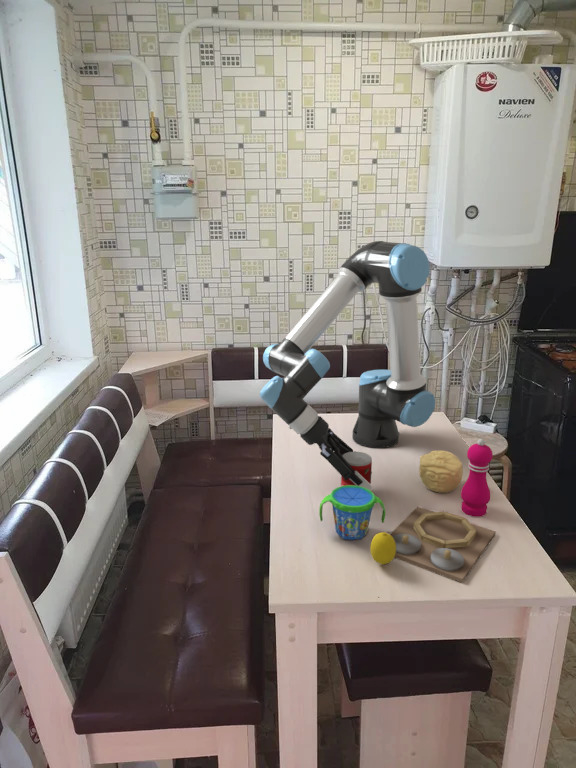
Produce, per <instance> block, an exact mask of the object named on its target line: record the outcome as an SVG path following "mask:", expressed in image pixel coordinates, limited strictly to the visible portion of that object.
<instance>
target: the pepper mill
mask: <svg viewBox="0 0 576 768" xmlns="http://www.w3.org/2000/svg"><path fill="white" fill-rule="evenodd" d="M485 443H486V441H485V440H484V439H483V438H479V439H477V443H473V444H471V446H469V448H468V449H467V452H466V455H467V456H466V457H467V459H468V465H467V468H468V469H469V473H468V477H467V480H466V481H465V483H464V484H463V485H462V487H461V490H460V498H461V500H462V501H461V507H460V509H461V512H463V514H465V515H466V516H470V517H472V518H474V517H475V518H479V517H480V518H481V517H484V516H485V515H486V514H487V511H488V504H489V503H490V501H491V490H490V487H489V484H488V480H487V472H488V471H489V470H490V463H491V462H492V460H493V455H494V454H493V450H492V448H490V446H488V445H487V444H485Z"/></svg>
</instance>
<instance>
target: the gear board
mask: <svg viewBox="0 0 576 768" xmlns="http://www.w3.org/2000/svg"><path fill="white" fill-rule="evenodd" d="M404 518H405V519H403V520H402V522H400V523H399V524H398V525H397V526H396V527H395V529H393V531H391V532H390V533H389V534H390V535H391V536H392V537H393V538H394V541H395V544H396V554H395V557H394V559H398V560H400V561H403V562H406V563H409V564H411V565H413V566H417V567H418V568H421V569H424V570H427V571H430V572H432V573H434V572H435V573H434V574H437V573H438V575H440V574H441V575H440V576H442V575H443V577H445V578H447V579H450V578H451V580H453V579H454V580H453V581H455V580H457V581H456V582H458V581H459V582H458V583H460V584H463V583H464V581H465V580H466V578H467V577H468V575H469V574H470V573H469V572H471V571H472V569H474V567H475V565H476V564H477V563H478V562H479V560H480V558H481V557H480V556H482V555H483V554H484V553H485V551H486V549H487V548H488V546H489V545H490V544H489V543H491V542H492V541H493V539H494V538H495V536H496V533H497V531H495V530H493V529H489V528H486V527H483V526H480V525H477V524H475V523H471V522H470V521H469V520H468V519H467V518H466V517H464V516H459V515H458V514H454V513H451V512H448V511H444V510H442V511H432V510H429V509H427V508H424V507H420V506H416V507H415V508H414V509H413V510H412V511H411V512H410V513H409V515H407V516H406V517H404ZM462 582H463V583H462Z"/></svg>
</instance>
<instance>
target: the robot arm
mask: <svg viewBox="0 0 576 768" xmlns="http://www.w3.org/2000/svg"><path fill="white" fill-rule="evenodd" d="M429 260H430V259H429V258H428V256H427V254H426V252H425V251H424V250H423V249H422V248H421V247H419V246H417V245H412V244H410V243H406V242H405V243H404V242H403V243H401V242H389V241H383V240H377V241H372V242H369V243H367V244H365V245H363V246H361V247H360V248H359V249H357V250H356V251H355V252H353V254H351V255H350V256H349V257H348V258H347V259H346V260H345V262H344V263H343V264H341V265H340V266H339V268H338V269H337V276H336V277H335V278H334V280H333V281H332V282H331V283H330V284H329V286H327V288H326V289H324V291H323V292H322V293H321V295H320V296H319V297H317V300H315V302H314V303H313V304H312V305H311V306H310V307H309V308H308V310H306V312H305V313H304V314H303V316H302V317H301V318H300V319H299V320H298V322H297V323H296V324H295V325H294V326H293V327H292V329H290V331H289V332H288V334H286V336H285V337H283V339H282V340H281V341H280V343H276V344H275V343H274V344H270V345H269V346H268V347H266V349H265V350H264V353H263V355H262V360H263V364H264V365H265V368H268V369H269V370H271V372H273V373H275V374H278V375H276V376H273V377H272V378H271V379H269V381H268V382H266V384H265V385H264V386H263V387H262V389H261V390H260V392H259V397H260V399H261V400H262V401H263V402H264V403H265V404H266V405H267V406H268V408H269V409H270V410H272V411H273V412H274V413H275V414H276V415H277V416H278V417H279V418H280V419H281V420H283V422H284V423H285V424H287V425H288V428H289V429H290V430H293V431H294V432H295V433H296V434H297V435H299V436H300V438H301V439H302V440H303V441H304V442H305V443H306V444H307V445H309V446H312V445H315V444H317V446H318V448H319V450H320V453H319V454H320V456H322V458H324V459H325V460H326V461H328V463H329V465H331V466H332V468H334V470H336V472H337V473H338V474H339V475H340V476H342V477H343V478H344V479H345V480H347V479H350V480H351V481H352V482H353V483H354V484H355V485H356V486H361V487H364V488H367V489H369V490H370V491H372V490H373V488H374V486H373V485H372V483H371V484H370V483H369V482H368V481H367V480H366V479H364V478H363V477H362V476H361V475H360V474H359V473H358V472H357V471H356V470H355V471H354V470H353V468H352V467H351V466H350V465H349V464H348V462H347V461H346V460H345V459H344V457H343V454H345V453H348V452H357V451H356V450H354V449H353V448H352V447H351V446H349V445H348V444H347V443H346V442H345V441H344V440H343V439H341V437H339V436H338V435H337V434H335V432H334V431H333V430H332V428H330V427H329V423H328V422H327V421H326V420H325V419H323V417H322V416H320V415H319V414H318V412H317V411H316V410H315V409H314V408H313V407H311V406H310V404H309V403H307V402H306V401H305V399H304V398H305V397H306V396H307V395H308V394H309V393H310V392H311V390H313V388H314V387H315V386H317V384H318V383H319V382H320V381H322V380H321V379H324V376H325V375H326V373H328V371H329V370H330V367H331V363H330V361H329V360H328V359H327V357H326V356H325V355H324V354H323V353H322V352H320V350H317V349H315V348H312V347H313V346H314V345H315V344H316V342H318V340H319V339H320V338H321V336H322V335H324V333H325V332H326V331H327V329H329V327H330V326H331V325H332V323H334V321H335V320H336V319H337V318H338V316H340V314H341V313H342V312H343V311H344V309H345V308H346V307H347V306H348V304H349V303H350V302H351V301H352V300H353V299H354V298H355V296H356V295H358V293H362V292H364V291H365V290H366V289H367V287H368V286H370V285H372V284H378V293H379V297H381V298H383V300H384V301H385V313H386V314H385V315H386V325H387V327H386V328H387V338H388V339H387V341H388V342H387V343H388V351H389V352H388V354H389V366H390V367H389V368H390V369H372V370H367V371H364V372H363V373H361V375H360V377H359V383H358V386H359V387H358V416H357V418H356V422H355V424H354V425H353V426H354V427H353V430H352V435H351V436H352V440H353V441H354V442H355V443H356V444H357V445H361V446H363V447H369V448H377V449H379V448H381V449H382V448H390V447H392V446H395V445H397V444H398V442H399V440H400V432H399V428H398V425H397V422H399V423H400V424H402V425H406V426H409V427H412V428H417V427H420V426H423V424H425V423H426V422H427V421H429V419H430V418H431V416H432V415H433V413H434V411H435V408H436V407H435V406H436V397H435V396H434V394H433V393H432V392H431V391H429V390H427V379H426V378H425V377H424V376H423V375H422V374H421V360H420V340H419V322H418V305H417V304H418V302H417V299H418V296H419V295H420V294H421V293H422V289H423V288H422V287H423V286H424V285H425V284H426V283H427V278H429V275H430V269H431V266H430V261H429ZM279 375H280V376H283V377H280V376H279ZM396 421H397V422H396ZM372 474H373V471H371V475H372Z"/></svg>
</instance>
